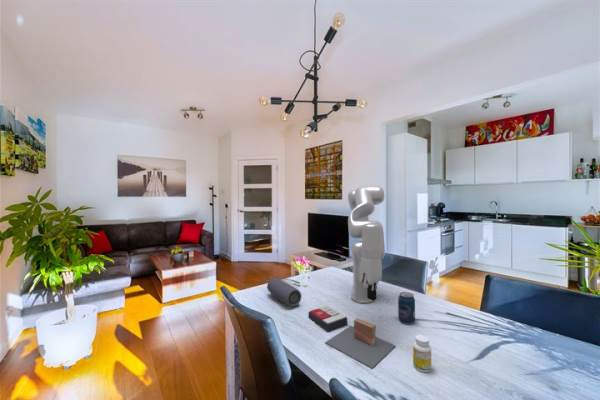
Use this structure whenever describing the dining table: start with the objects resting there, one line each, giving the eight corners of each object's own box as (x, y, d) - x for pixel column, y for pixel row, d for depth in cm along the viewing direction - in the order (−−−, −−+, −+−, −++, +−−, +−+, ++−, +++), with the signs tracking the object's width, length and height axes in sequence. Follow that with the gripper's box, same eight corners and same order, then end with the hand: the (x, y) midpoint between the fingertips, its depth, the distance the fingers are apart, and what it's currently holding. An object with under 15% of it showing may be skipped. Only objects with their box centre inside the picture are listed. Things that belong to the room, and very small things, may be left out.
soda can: (395, 321, 110) (395, 294, 110) (401, 315, 115) (401, 290, 115) (412, 326, 105) (411, 299, 105) (417, 320, 111) (417, 294, 110)
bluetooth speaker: (302, 306, 127) (302, 286, 127) (287, 311, 121) (286, 291, 121) (280, 292, 146) (280, 275, 145) (266, 296, 140) (266, 278, 140)
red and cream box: (326, 304, 120) (347, 315, 108) (327, 313, 120) (348, 325, 108) (307, 310, 115) (327, 322, 102) (308, 319, 115) (328, 333, 102)
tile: (357, 334, 99) (357, 317, 99) (375, 343, 93) (375, 324, 93) (353, 337, 97) (353, 320, 97) (372, 346, 92) (372, 327, 91)
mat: (350, 326, 106) (350, 325, 106) (395, 346, 92) (395, 345, 92) (325, 343, 95) (325, 342, 95) (372, 369, 80) (372, 367, 80)
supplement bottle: (429, 375, 77) (429, 345, 77) (411, 367, 80) (411, 338, 80) (433, 366, 81) (433, 337, 81) (415, 359, 85) (415, 331, 84)
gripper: (372, 249, 107) (373, 291, 107) (352, 255, 97) (353, 302, 97) (389, 252, 101) (389, 296, 102) (370, 259, 91) (370, 308, 92)
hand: (371, 298), depth 99 cm, fingers closed
